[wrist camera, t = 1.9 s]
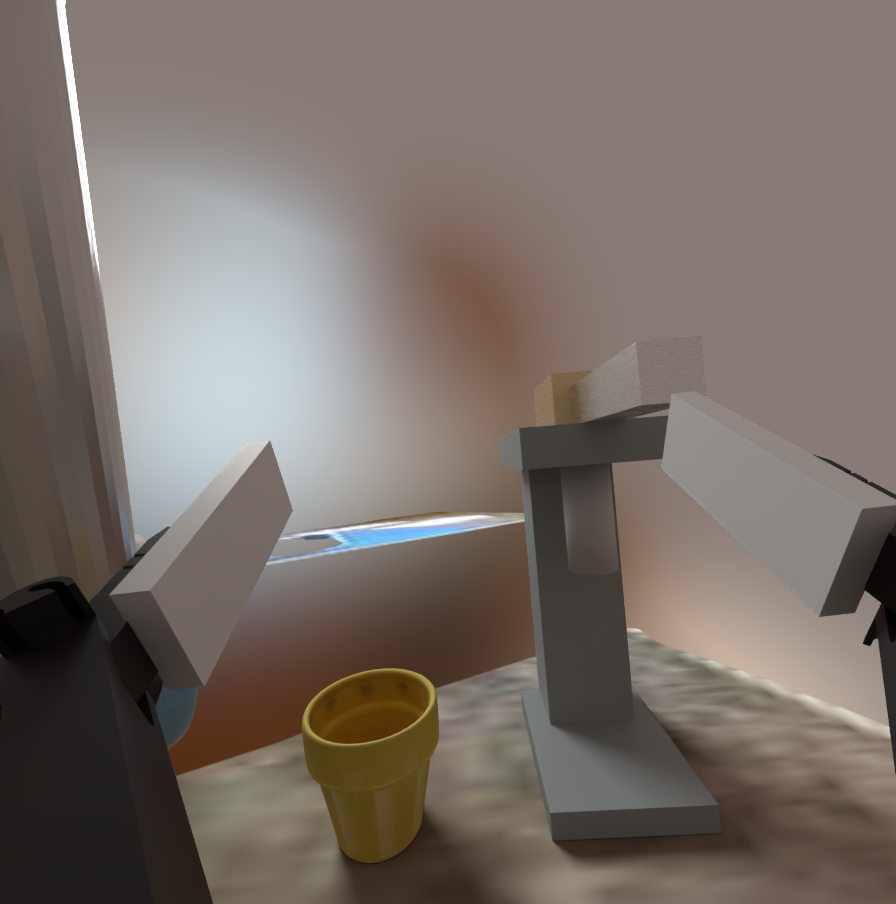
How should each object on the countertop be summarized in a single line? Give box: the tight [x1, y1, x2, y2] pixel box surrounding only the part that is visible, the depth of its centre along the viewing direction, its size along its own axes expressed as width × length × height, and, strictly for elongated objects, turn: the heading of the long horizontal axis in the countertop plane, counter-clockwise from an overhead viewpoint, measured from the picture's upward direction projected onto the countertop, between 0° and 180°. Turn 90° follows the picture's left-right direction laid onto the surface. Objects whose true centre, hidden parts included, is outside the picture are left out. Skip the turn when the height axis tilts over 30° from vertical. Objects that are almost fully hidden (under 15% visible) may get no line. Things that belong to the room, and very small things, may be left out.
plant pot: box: [302, 669, 439, 863], centre depth 33 cm, size 10×10×10 cm
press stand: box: [500, 416, 722, 841], centre depth 38 cm, size 12×17×30 cm
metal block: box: [534, 336, 706, 427], centre depth 30 cm, size 6×20×4 cm, turn 178°
